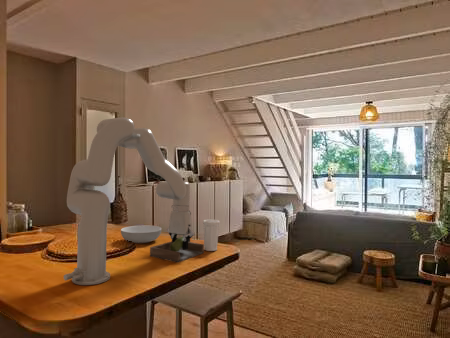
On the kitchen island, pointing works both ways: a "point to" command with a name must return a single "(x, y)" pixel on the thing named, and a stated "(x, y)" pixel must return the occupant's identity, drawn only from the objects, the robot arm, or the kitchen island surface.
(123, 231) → the serving bowl
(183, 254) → the tray
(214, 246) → the cup
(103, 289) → the kitchen island surface
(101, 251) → the robot arm
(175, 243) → the pear
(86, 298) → the kitchen island surface
